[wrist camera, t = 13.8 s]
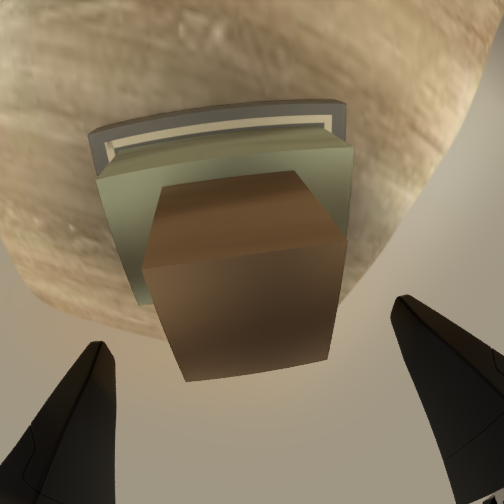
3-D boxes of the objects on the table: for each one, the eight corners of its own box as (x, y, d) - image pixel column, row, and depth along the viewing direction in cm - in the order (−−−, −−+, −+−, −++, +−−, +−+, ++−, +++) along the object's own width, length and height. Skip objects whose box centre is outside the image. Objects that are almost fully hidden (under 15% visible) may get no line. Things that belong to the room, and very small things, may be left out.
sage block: (119, 150, 14) (95, 179, 10) (319, 125, 14) (353, 147, 11) (147, 257, 17) (138, 305, 14) (316, 234, 18) (341, 276, 15)
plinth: (96, 128, 14) (86, 135, 13) (335, 99, 15) (347, 104, 14) (133, 263, 19) (129, 279, 18) (329, 236, 20) (337, 249, 19)
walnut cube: (162, 187, 11) (141, 269, 7) (294, 170, 11) (347, 240, 7) (185, 288, 14) (185, 382, 10) (293, 272, 14) (327, 359, 10)
